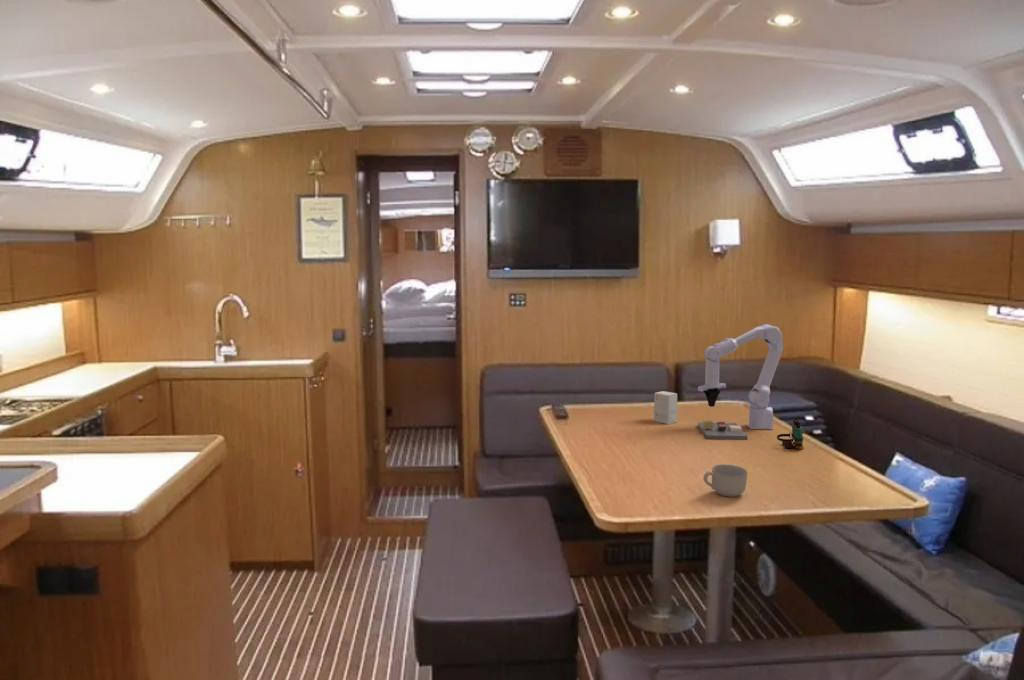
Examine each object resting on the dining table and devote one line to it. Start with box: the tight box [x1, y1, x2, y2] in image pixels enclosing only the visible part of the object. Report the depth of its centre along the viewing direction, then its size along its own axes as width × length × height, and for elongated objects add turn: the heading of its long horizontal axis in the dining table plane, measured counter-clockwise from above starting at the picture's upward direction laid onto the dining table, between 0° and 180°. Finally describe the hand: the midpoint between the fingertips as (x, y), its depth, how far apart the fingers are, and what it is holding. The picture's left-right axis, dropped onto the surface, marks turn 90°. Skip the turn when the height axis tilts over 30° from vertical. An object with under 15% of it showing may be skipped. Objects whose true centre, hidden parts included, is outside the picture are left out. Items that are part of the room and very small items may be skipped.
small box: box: [653, 390, 678, 425], centre depth 329 cm, size 8×6×13 cm
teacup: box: [703, 463, 748, 498], centre depth 233 cm, size 14×11×8 cm
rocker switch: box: [716, 421, 726, 429], centre depth 308 cm, size 3×5×1 cm, turn 175°
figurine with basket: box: [776, 418, 805, 450], centre depth 287 cm, size 9×11×10 cm
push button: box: [729, 424, 743, 432], centre depth 308 cm, size 4×4×2 cm
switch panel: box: [697, 422, 748, 441], centre depth 310 cm, size 16×22×2 cm
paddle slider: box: [701, 420, 714, 429], centre depth 309 cm, size 4×2×3 cm, turn 85°
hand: (711, 406), depth 317 cm, fingers closed
